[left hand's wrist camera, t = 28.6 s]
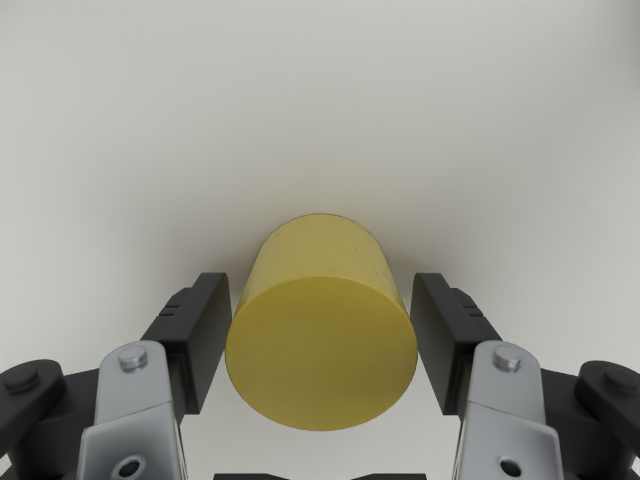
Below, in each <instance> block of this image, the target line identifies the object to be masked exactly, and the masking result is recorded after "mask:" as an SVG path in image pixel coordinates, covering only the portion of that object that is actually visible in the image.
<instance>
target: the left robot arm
mask: <svg viewBox="0 0 640 480" xmlns="http://www.w3.org/2000/svg"><path fill="white" fill-rule="evenodd" d="M410 321H411V323H412V326H413V328H414V332H415V335H416V338H417V346H418V351H419V354H420V356H421V359H422V362H423V364H424V367H425V369H426V372H427V375H428V377H429V380H430V382H431V385H432V388H433V390H434V393H435V395H436V398H437V401H438V403H439V406H440V408H441V411H442V414H443V415H458V416H459V419H460V421H461V425H460V430H459V435H458V442H457V448H456V454H455V461H454V467H453V473H452V480H640V477H639V476H638V475H637V474H636V473H635V472H634V471H633V470H632V468H631V467H632V465H633V462H634V460H635V458H636V456H637V457H638V458H639V459H640V374H639V373H637V372H635V371H633V370H631V369H629V368H626V367H624V366H621V365H618V364H615V363H611V362H606V361H588V362H586V363H584V364H583V365H582V366H581V368H580V371H579V374H578V376H574V375H569V374H564V373H560V372H555V371H550V370H546V369H542V368H540V364H539V362H538V361H537V359H536V358H535V357H534V356H533V355H532V354H531V353H529V352H528V351H526V350H525V349H523V348H521V347H519V346H517V345H515V344H512V343H508V342H504V341H503V340H502V339H501V337H500V336H499V335H498V333H497V332H496V331H495V329H494V328H493V327H492V325H491V324H490V323H489V321H488V320H487V319H486V317H484V316H483V313H482V312H481V311H480V309H479V308H477V305H476V304H475V303H474V301H473V300H472V299H471V297H470V296H468V295H467V294H465V293H464V292H462V291H461V290H459V289H458V288H450V287H449V285H448V284H447V282H446V281H445V279H444V278H443V276H442V275H441V274H440V273H416V274H415V277H414V282H413V292H412V301H411V310H410ZM231 322H232V312H231V302H230V293H229V283H228V277H227V274H226V273H201V275H200V276H199V278H198V279H197V281H196V282H195V284H194V285H193V287H192V288H184V289H182V290H181V291H179V292H178V293H176V294H175V295H173V296H172V297H171V298H170V300H169V301H168V302H167V304H166V305H165V308H163V309H162V311H161V312H160V313H159V316H157V317H156V319H155V320H154V321H153V323H152V324H151V326H150V327H149V328H148V330H147V331H146V332H145V334H144V335H143V336H142V338H141V339H140V340H139V341H136V342H132V343H128V344H125V345H123V346H121V347H119V348H117V349H115V350H114V351H112V352H111V353H109V354H108V355H107V356H106V357H105V358H104V359H103V361H102V362H101V364H100V368H98V369H94V370H89V371H84V372H80V373H75V374H70V375H65V376H64V375H63V372H62V369H61V366H60V365H59V363H57V362H56V361H53V360H47V359H43V360H34V361H30V362H26V363H23V364H20V365H17V366H15V367H12V368H10V369H8V370H6V371H4V372H3V373H1V374H0V459H1V458H2V457H3V456H4V455H5V454H6V453H7V455H8V457H9V459H10V461H11V464H12V465H11V466H10V467H9V469H8V470H7V471H6V472H5V473H4V474H3V475H2V476H1V477H0V480H188V473H187V467H186V461H185V454H184V448H183V442H182V435H181V430H180V424H181V422H182V419H183V417H184V415H185V414H200V411H201V409H202V406H203V403H204V401H205V398H206V396H207V393H208V390H209V388H210V385H211V382H212V380H213V377H214V374H215V372H216V369H217V366H218V364H219V361H220V359H221V356H222V353H223V351H224V348H225V342H226V337H227V334H228V330H229V327H230V325H231ZM213 480H288V479H285V478H281V477H277V476H274V475H270V474H215V475H214V478H213ZM352 480H427V478H426V475H425V474H370V475H366V476H363V477H359V478H355V479H352Z"/></svg>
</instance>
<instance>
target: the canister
mask: <svg viewBox="0 0 640 480" xmlns="http://www.w3.org/2000/svg"><path fill="white" fill-rule="evenodd" d="M417 360H418V346H417V338H416V335H415V332H414V328H413V326H412V323H411V321H410V318H409V316H408V313H407V311H406V308H405V306H404V303H403V301H402V298H401V296H400V293H399V291H398V288H397V286H396V283H395V281H394V278H393V276H392V273H391V271H390V268H389V266H388V263H387V261H386V258H385V256H384V253H383V251H382V249H381V247H380V245H379V244H378V243H377V241H376V240H375V238H374V237H373V236H372V235H371V234H370V233H369V232H368V231H367V230H365V229H364V228H363V227H361V226H360V225H358V224H357V223H355V222H353V221H351V220H349V219H346V218H343V217H340V216H335V215H328V214H314V215H307V216H302V217H299V218H296V219H293V220H291V221H289V222H287V223H285V224H283V225H282V226H280V227H279V228H278V229H276V230H275V231H274V232H273V233H272V234H271V235H270V236H269V237H268V238H267V239H266V241H265V242H264V244H263V245H262V247H261V249H260V251H259V253H258V255H257V258H256V261H255V263H254V266H253V268H252V271H251V273H250V276H249V279H248V281H247V284H246V286H245V289H244V291H243V294H242V296H241V299H240V302H239V304H238V307H237V309H236V312H235V314H234V317H233V320H232V322H231V325H230V327H229V330H228V334H227V337H226V342H225V362H226V367H227V371H228V374H229V377H230V379H231V382H232V383H233V385H234V387H235V389H236V390H237V392H238V393H239V394H240V396H241V397H242V398H243V399H244V400H245V401H246V402H247V403H248V404H249V405H250V406H251V407H252V408H254V409H255V410H256V411H257V412H259V413H260V414H262V415H264V416H265V417H267V418H269V419H271V420H273V421H275V422H277V423H280V424H283V425H286V426H289V427H293V428H297V429H302V430H310V431H333V430H340V429H346V428H350V427H354V426H357V425H360V424H362V423H365V422H367V421H369V420H371V419H374V418H376V417H377V416H379V415H380V414H382V413H384V412H385V411H386V410H388V409H389V408H390V407H391V406H393V405H394V404H395V403H396V402H397V401H398V400H399V399H400V397H401V396H402V395H403V394H404V392H405V391H406V389H407V388H408V386H409V384H410V382H411V380H412V378H413V375H414V373H415V370H416V365H417Z"/></svg>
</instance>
